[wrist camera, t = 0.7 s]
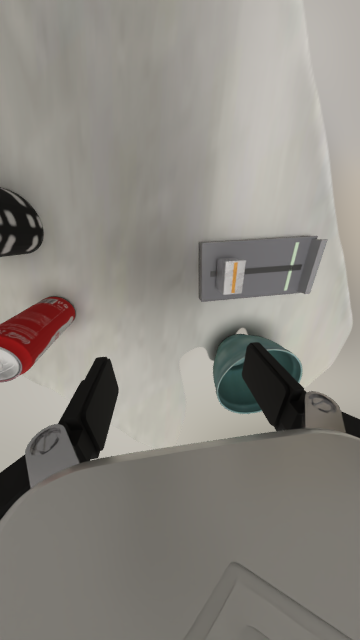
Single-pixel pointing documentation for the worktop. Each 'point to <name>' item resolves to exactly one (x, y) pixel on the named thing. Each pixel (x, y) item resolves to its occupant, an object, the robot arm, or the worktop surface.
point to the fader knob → (230, 275)
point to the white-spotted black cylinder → (18, 225)
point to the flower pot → (230, 368)
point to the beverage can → (32, 335)
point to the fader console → (263, 265)
